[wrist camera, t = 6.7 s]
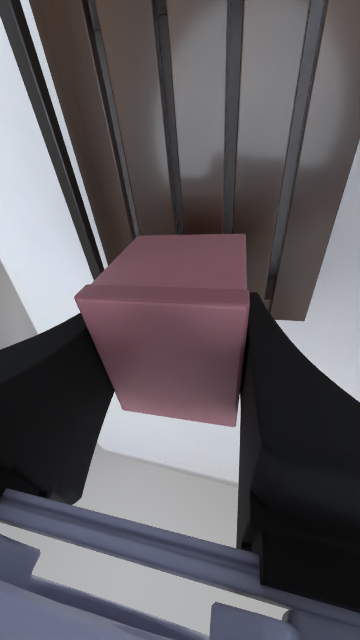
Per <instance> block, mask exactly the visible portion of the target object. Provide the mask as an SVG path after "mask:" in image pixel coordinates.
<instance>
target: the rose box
mask: <svg viewBox="0 0 360 640" xmlns="http://www.w3.org/2000/svg"><path fill="white" fill-rule="evenodd" d="M74 298H75V301H76V303H77V305H78V308H79V310H80V312H81V315H82V317H83V319H84V322H85V324H86V326H87V328H88V331H89V333H90V335H91V338H92V340H93V342H94V345H95V347H96V349H97V351H98V354H99V356H100V358H101V361H102V363H103V365H104V368H105V370H106V372H107V374H108V377H109V379H110V381H111V384H112V386H113V388H114V391H115V393H116V395H117V398H118V400H119V402H120V404H121V407H122V409H123V410H125V411H132V412H138V413H145V414H151V415H158V416H164V417H171V418H177V419H184V420H190V421H197V422H204V423H210V424H217V425H223V426H230V427H235V426H236V421H237V412H238V403H239V394H240V386H241V377H242V368H243V359H244V351H245V342H246V333H247V324H248V316H249V307H250V300H249V290H247V273H246V235H245V234H201V235H148V236H137V237H136V238H135V239H134V240H133V241H132V242H131V243H130V245H129V246H128V247H127V248H126V249H125V250H124V251H123V252H122V253H121V254H120V255H119V256H118V257H117V258H116V259H115V260H114V261H113V262H112V263H111V264H110V265H109V266H108V267H107V268H106V269H105V270H104V271H103V272H102V273H101V274H100V275H99V276H98V277H97V278H96V279H95V280H94V281H93V283H92V284H91V285H85V286H84V287H83V288H82V289H81V290H80V291H79V292H78V293H77V294H76V295H75V297H74Z"/></svg>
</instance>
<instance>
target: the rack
mask: <svg viewBox="0 0 360 640" xmlns="http://www.w3.org/2000/svg"><path fill="white" fill-rule="evenodd" d="M29 2H30V6H31V9H32V12H33V16H34V19H35V22H36V26H37V29H38V32H39V36H40V39H41V43H42V46H43V49H44V53H45V56H46V59H47V63H48V66H49V69H50V73H51V76H52V79H53V83H54V86H55V89H56V93H57V96H58V99H59V103H60V106H61V109H62V113H63V116H64V119H65V123H66V126H67V129H68V133H69V136H70V140H71V143H72V146H73V150H74V153H75V156H76V160H77V163H78V166H79V170H80V173H81V176H82V180H83V183H84V186H85V190H86V193H87V196H88V200H89V203H90V206H91V210H92V213H93V216H94V220H95V223H96V226H97V230H98V233H99V237H100V240H101V243H102V247H103V250H104V253H105V257H106V260H107V263H108V266H109V265H110V264H111V263H112V262H113V261H114V260H115V259H116V258H117V257H118V256H119V255H120V254H121V253H122V252H123V251H124V250H125V249H126V248H127V247H128V246H129V245H130V243H131V242H132V241H133V240H134V239H135V238H136V235H135V230H134V225H133V220H132V215H131V210H130V206H129V201H128V196H127V191H126V186H125V181H124V176H123V171H122V166H121V161H120V157H119V152H118V147H117V142H116V137H115V132H114V127H113V122H112V117H111V112H110V108H109V103H108V98H107V93H106V88H105V83H104V78H103V73H102V68H101V63H100V59H99V54H98V49H97V44H96V39H95V34H94V30H98V29H100V30H101V35H102V40H103V45H104V50H105V56H106V61H107V66H108V71H109V76H110V82H111V87H112V92H113V97H114V102H115V108H116V113H117V118H118V123H119V128H120V134H121V139H122V144H123V149H124V154H125V160H126V165H127V170H128V175H129V180H130V186H131V191H132V196H133V201H134V206H135V212H136V217H137V222H138V227H139V232H140V236H148V235H178V232H177V222H176V211H175V201H174V190H173V179H172V169H171V158H170V148H169V137H168V126H167V116H166V105H165V95H164V84H163V73H162V63H161V52H160V41H159V31H158V20H157V16H158V15H163V14H167V20H168V33H169V46H170V59H171V72H172V85H173V98H174V111H175V124H176V136H177V149H178V162H179V175H180V188H181V201H182V214H183V227H184V235H201V234H224V194H225V153H226V112H227V72H228V31H229V0H29ZM310 5H311V0H243V16H242V37H241V58H240V79H239V101H238V122H237V143H236V164H235V185H234V207H233V228H232V234H245V235H246V273H247V290H249V292H257V293H258V294H259V295H260V297H261V299H262V301H263V303H264V304H265V306H266V308H267V309H268V311H269V312H270V314H271V315H272V317H273V318H274V320H292V321H305V318H306V314H307V311H308V308H309V305H310V301H311V298H312V295H313V291H314V288H315V285H316V281H317V278H318V275H319V272H320V268H321V265H322V262H323V258H324V255H325V252H326V248H327V245H328V242H329V239H330V235H331V232H332V229H333V225H334V222H335V219H336V215H337V212H338V209H339V206H340V202H341V199H342V196H343V192H344V189H345V186H346V182H347V179H348V176H349V173H350V169H351V166H352V163H353V159H354V156H355V153H356V149H357V146H358V143H359V140H360V0H325V1H324V7H323V12H322V18H321V24H320V29H319V35H318V40H317V46H316V52H315V57H314V63H313V68H312V74H311V80H310V85H309V91H308V96H307V102H306V108H305V113H304V119H303V124H302V130H301V136H300V141H299V147H298V152H297V158H296V164H295V169H294V175H293V180H292V186H291V192H290V197H289V203H288V208H287V214H286V220H285V225H284V231H283V236H282V242H281V248H280V253H279V259H278V264H277V270H276V276H268V272H269V266H270V260H271V253H272V247H273V241H274V234H275V228H276V221H277V215H278V209H279V202H280V196H281V190H282V183H283V177H284V170H285V164H286V158H287V151H288V145H289V139H290V132H291V126H292V119H293V113H294V107H295V100H296V94H297V88H298V81H299V75H300V68H301V62H302V56H303V49H304V43H305V37H306V30H307V24H308V18H309V11H310ZM0 17H1V19H2V22H3V25H4V28H5V31H6V33H7V36H8V39H9V42H10V45H11V48H12V50H13V53H14V56H15V59H16V62H17V65H18V67H19V70H20V73H21V76H22V79H23V81H24V84H25V87H26V90H27V93H28V96H29V98H30V101H31V104H32V107H33V110H34V113H35V115H36V118H37V121H38V124H39V127H40V130H41V132H42V135H43V138H44V141H45V144H46V146H47V149H48V152H49V155H50V158H51V161H52V163H53V166H54V169H55V172H56V175H57V178H58V180H59V183H60V186H61V189H62V192H63V194H64V197H65V200H66V203H67V206H68V209H69V211H70V214H71V217H72V220H73V223H74V226H75V228H76V231H77V234H78V237H79V240H80V242H81V245H82V248H83V251H84V254H85V257H86V259H87V262H88V265H89V268H90V271H91V274H92V276H93V279H94V280H95V279H96V278H97V277H98V276H99V275H100V274H101V273H102V272H103V271H104V267H103V264H102V261H101V258H100V254H99V251H98V248H97V245H96V242H95V238H94V235H93V232H92V229H91V226H90V222H89V219H88V216H87V213H86V210H85V207H84V203H83V200H82V197H81V194H80V191H79V187H78V184H77V181H76V178H75V175H74V171H73V168H72V165H71V162H70V159H69V156H68V152H67V149H66V146H65V143H64V140H63V136H62V133H61V130H60V127H59V124H58V120H57V117H56V114H55V111H54V108H53V104H52V101H51V98H50V95H49V92H48V89H47V85H46V82H45V79H44V76H43V73H42V69H41V66H40V63H39V60H38V57H37V53H36V50H35V47H34V44H33V41H32V38H31V34H30V31H29V28H28V25H27V22H26V18H25V15H24V12H23V9H22V6H21V2H20V0H0Z"/></svg>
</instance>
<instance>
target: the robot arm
mask: <svg viewBox="0 0 360 640" xmlns="http://www.w3.org/2000/svg"><path fill="white" fill-rule="evenodd" d="M249 300H250V307H249V316H248V324H247V333H246V342H245V351H244V359H243V368H242V377H241V386H240V399H241V422H240V458H239V490H238V518H237V546H236V548H232V547H229V546H225V545H221V544H217V543H213V542H209V541H206V540H202V539H198V538H194V537H190V536H187V535H183V534H179V533H175V532H171V531H168V530H163V529H160V528H156V527H152V526H149V525H145V524H141V523H137V522H133V521H130V520H126V519H122V518H118V517H114V516H110V515H107V514H103V513H99V512H95V511H91V510H88V509H84V508H80V507H76V506H72V504H74V503H76V502H77V501H78V500H79V499H80V498H81V497H82V493H83V489H84V485H85V482H86V478H87V474H88V471H89V467H90V463H91V460H92V456H93V453H94V449H95V446H96V443H97V440H98V437H99V433H100V430H101V428H102V425H103V422H104V419H105V416H106V413H107V410H108V407H109V405H110V402H111V399H112V397H113V394H114V388H113V386H112V384H111V381H110V379H109V377H108V374H107V372H106V370H105V368H104V365H103V363H102V361H101V358H100V356H99V354H98V351H97V349H96V347H95V345H94V342H93V340H92V338H91V335H90V333H89V331H88V328H87V326H86V324H85V322H84V319H83V317H82V315H81V313H79V314H77V315H76V316H74V317H72V318H70V319H68V320H67V321H65V322H63V323H61V324H59V325H57V326H55V327H53V328H51V329H49V330H47V331H45V332H43V333H41V334H38V335H36V336H34V337H32V338H29V339H27V340H24V341H22V342H19V343H16V344H14V345H11V346H9V347H6V348H4V349H1V350H0V522H1V523H5V524H8V525H11V526H15V527H18V528H22V529H25V530H28V531H31V532H35V533H38V534H41V535H44V536H48V537H51V538H54V539H58V540H61V541H64V542H67V543H71V544H74V545H77V546H81V547H84V548H87V549H91V550H94V551H97V552H101V553H104V554H107V555H110V556H114V557H117V558H120V559H124V560H127V561H130V562H134V563H137V564H140V565H144V566H147V567H150V568H154V569H157V570H160V571H163V572H167V573H170V574H173V575H177V576H180V577H183V578H187V579H190V580H193V581H196V582H200V583H203V584H206V585H210V586H213V587H216V588H220V589H223V590H227V591H230V592H233V593H236V594H240V595H243V596H246V597H249V598H253V599H256V600H259V601H262V602H266V603H269V604H272V605H276V606H279V607H283V608H286V609H289V610H288V611H287V612H286V613H284V615H283V617H282V620H278V619H274V618H271V617H268V616H265V615H261V614H258V613H254V612H250V611H247V610H243V609H239V608H236V607H233V606H229V605H225V604H222V603H218V602H215V603H214V604H213V605H212V608H211V623H210V636H208V635H205V634H202V633H199V632H197V631H194V630H191V629H188V628H186V627H183V626H180V625H178V624H175V623H172V622H169V621H167V620H164V619H161V618H158V617H155V616H153V615H150V614H147V613H144V612H142V611H138V610H136V609H133V608H130V607H127V606H124V605H121V604H118V603H115V602H112V601H110V600H106V599H103V598H100V597H97V596H94V595H92V594H89V593H85V592H82V591H79V590H77V589H73V588H70V587H67V586H64V585H61V584H58V583H55V582H52V581H49V580H46V579H43V578H40V577H37V576H34V575H32V571H33V568H34V566H35V564H36V562H37V560H38V558H39V556H40V550H39V549H36V548H34V547H31V546H28V545H26V544H23V543H21V542H18V541H15V540H12V539H10V538H8V537H6V536H3V535H1V534H0V640H360V402H359V401H357V400H356V399H355V398H353V397H352V396H350V395H349V394H348V393H347V392H345V391H344V390H343V389H342V388H340V387H339V386H338V385H337V384H335V383H334V382H333V381H332V380H331V379H330V378H328V377H327V376H326V375H325V374H324V373H322V372H321V371H320V370H319V369H318V368H317V367H316V366H315V365H313V364H312V363H311V362H310V361H309V360H308V359H307V358H306V357H305V356H304V355H303V354H302V353H301V352H300V351H299V349H298V348H297V347H296V346H295V345H294V344H293V343H292V342H291V340H290V339H289V338H288V337H287V336H286V334H285V333H284V332H283V331H282V329H281V328H280V327H279V325H278V324H277V323H276V321H275V320H274V318H273V317H272V315H271V314H270V312H269V311H268V309H267V308H266V306H265V304H264V303H263V301H262V299H261V297H260V295H259V294H258V293H257V292H249Z"/></svg>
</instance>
